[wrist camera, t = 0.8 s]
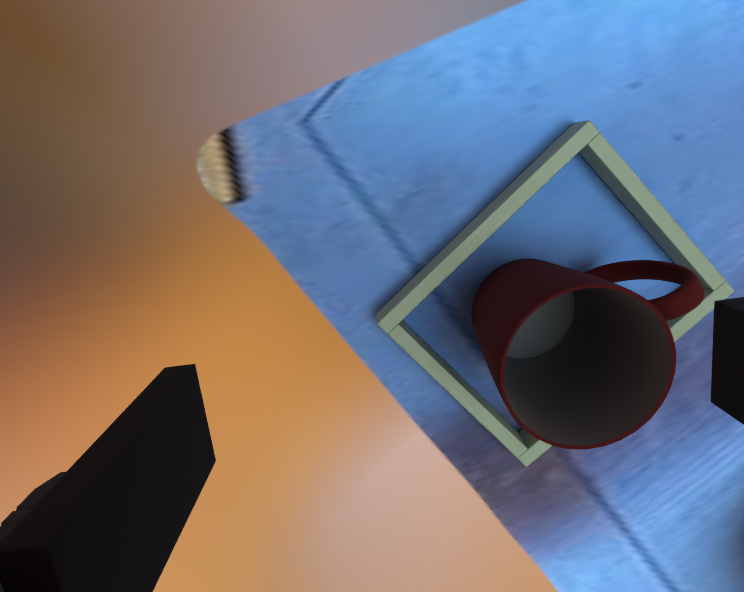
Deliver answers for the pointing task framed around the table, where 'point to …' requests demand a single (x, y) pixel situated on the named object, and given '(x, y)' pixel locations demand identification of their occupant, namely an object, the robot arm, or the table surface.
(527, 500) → the table surface
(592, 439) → the mug
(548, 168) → the green rectangular frame
